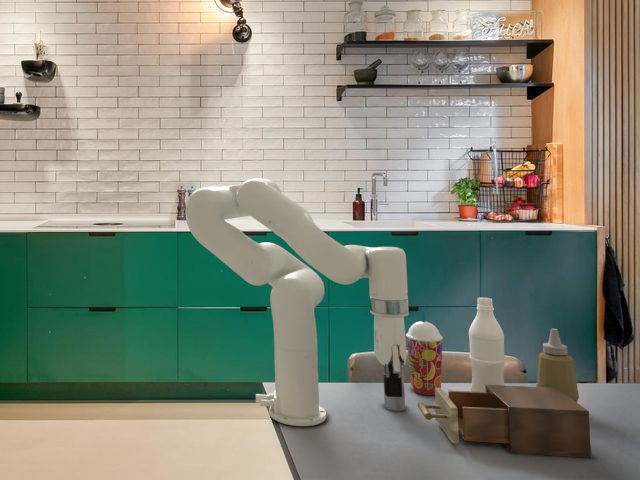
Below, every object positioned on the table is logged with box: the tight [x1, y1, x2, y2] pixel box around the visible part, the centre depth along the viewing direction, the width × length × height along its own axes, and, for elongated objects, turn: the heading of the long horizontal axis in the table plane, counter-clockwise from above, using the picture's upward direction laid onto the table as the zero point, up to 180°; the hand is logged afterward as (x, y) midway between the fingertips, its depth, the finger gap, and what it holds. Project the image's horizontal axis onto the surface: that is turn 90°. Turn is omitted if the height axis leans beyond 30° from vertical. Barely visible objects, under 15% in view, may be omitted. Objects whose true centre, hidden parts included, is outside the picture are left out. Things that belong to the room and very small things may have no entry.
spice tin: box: [382, 364, 406, 412], centre depth 130 cm, size 5×5×12 cm
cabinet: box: [485, 385, 592, 459], centre depth 112 cm, size 14×13×9 cm
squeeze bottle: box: [535, 328, 580, 403], centre depth 128 cm, size 8×8×18 cm
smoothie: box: [405, 309, 443, 396], centre depth 140 cm, size 8×8×20 cm
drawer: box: [417, 387, 509, 444], centre depth 114 cm, size 17×11×7 cm
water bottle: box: [468, 296, 506, 392], centre depth 129 cm, size 7×7×25 cm
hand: (393, 395), depth 117 cm, fingers closed
